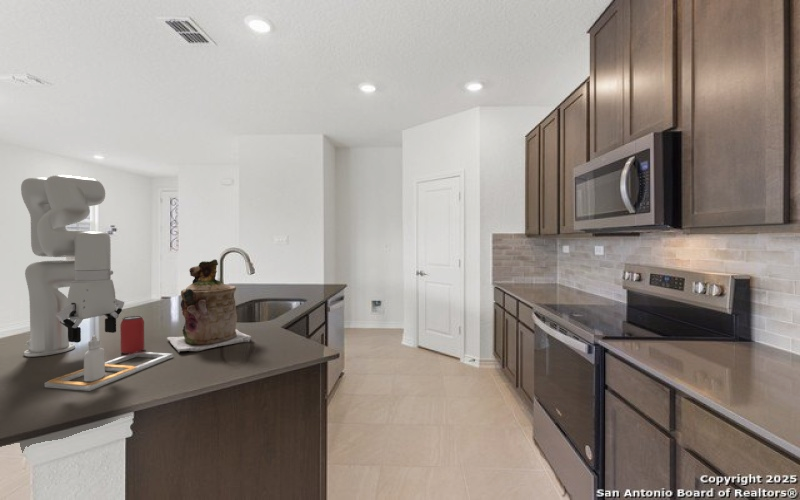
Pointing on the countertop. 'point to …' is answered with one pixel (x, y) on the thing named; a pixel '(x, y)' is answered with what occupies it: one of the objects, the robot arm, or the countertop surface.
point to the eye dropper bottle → (94, 361)
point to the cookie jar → (208, 312)
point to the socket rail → (109, 366)
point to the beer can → (132, 334)
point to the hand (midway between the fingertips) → (93, 336)
